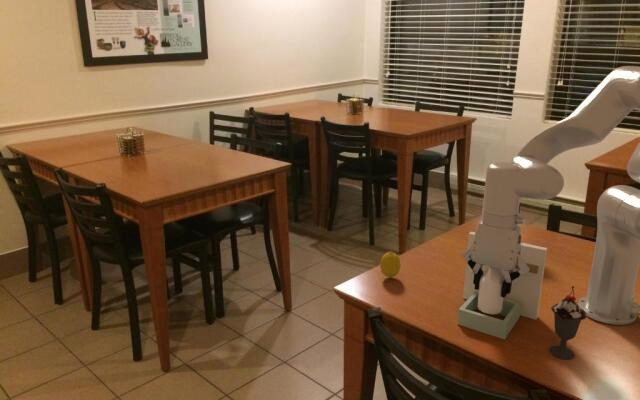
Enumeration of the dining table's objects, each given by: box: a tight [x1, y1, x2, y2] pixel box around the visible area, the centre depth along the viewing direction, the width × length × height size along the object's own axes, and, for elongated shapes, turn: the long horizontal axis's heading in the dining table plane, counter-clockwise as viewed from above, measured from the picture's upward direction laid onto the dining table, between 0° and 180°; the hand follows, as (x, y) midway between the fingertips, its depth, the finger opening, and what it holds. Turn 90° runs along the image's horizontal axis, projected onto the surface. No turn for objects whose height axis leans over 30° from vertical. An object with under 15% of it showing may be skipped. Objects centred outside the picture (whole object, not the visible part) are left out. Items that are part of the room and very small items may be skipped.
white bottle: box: [477, 266, 505, 315], centre depth 121 cm, size 6×12×6 cm
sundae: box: [549, 285, 587, 361], centre depth 109 cm, size 7×7×15 cm
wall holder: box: [457, 231, 548, 340], centre depth 122 cm, size 18×14×18 cm
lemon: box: [379, 250, 401, 279], centre depth 144 cm, size 6×6×8 cm
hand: (491, 290), depth 121 cm, fingers closed on white bottle, 5 cm apart
